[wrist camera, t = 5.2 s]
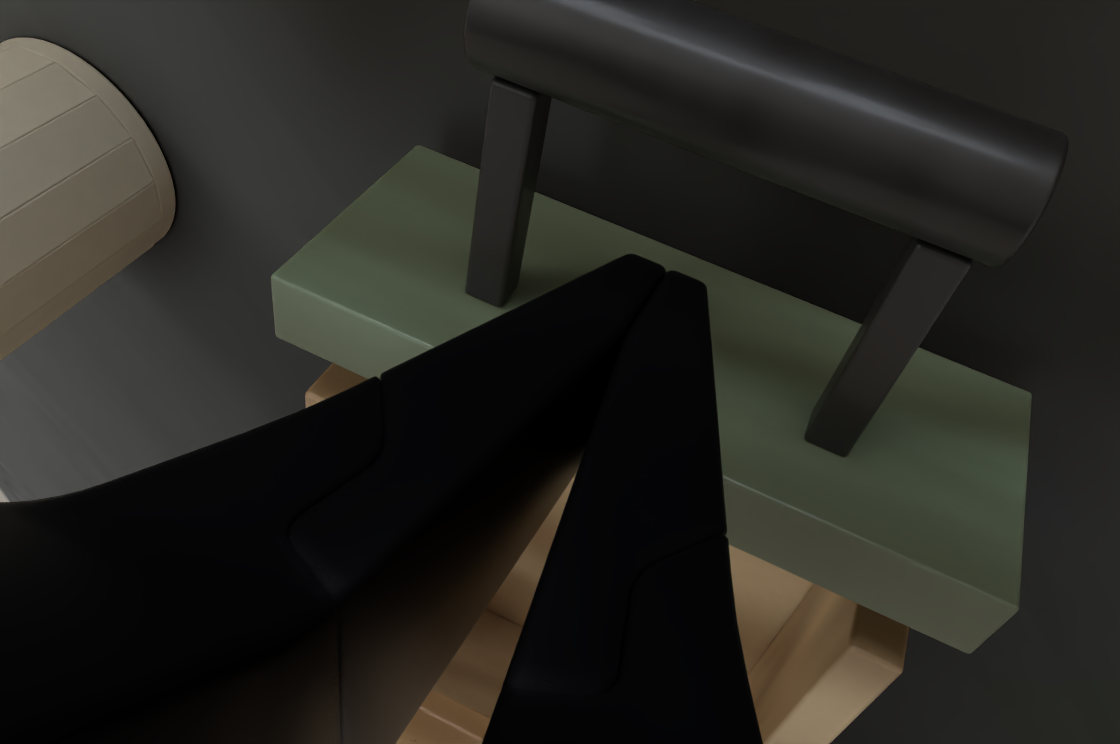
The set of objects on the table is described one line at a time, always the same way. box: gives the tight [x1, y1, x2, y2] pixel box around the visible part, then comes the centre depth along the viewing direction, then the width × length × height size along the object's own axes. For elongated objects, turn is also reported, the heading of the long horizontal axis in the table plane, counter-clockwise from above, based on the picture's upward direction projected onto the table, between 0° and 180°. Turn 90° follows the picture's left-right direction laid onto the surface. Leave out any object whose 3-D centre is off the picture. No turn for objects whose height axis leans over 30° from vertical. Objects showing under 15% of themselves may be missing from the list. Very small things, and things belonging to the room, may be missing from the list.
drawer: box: [271, 0, 1068, 744], centre depth 15 cm, size 17×10×4 cm, turn 169°
